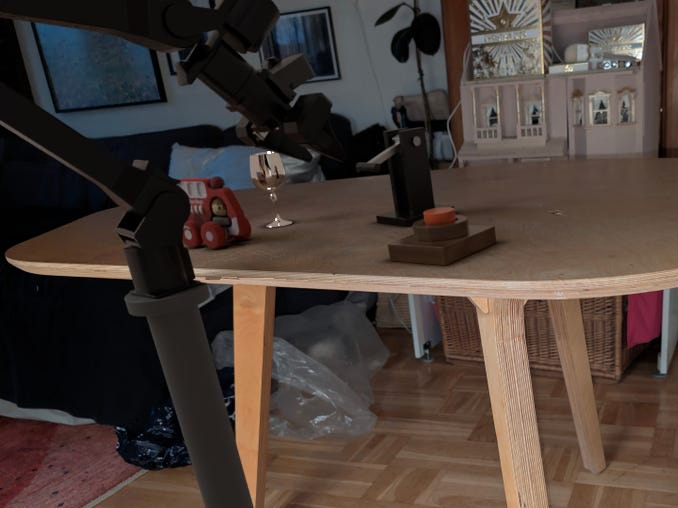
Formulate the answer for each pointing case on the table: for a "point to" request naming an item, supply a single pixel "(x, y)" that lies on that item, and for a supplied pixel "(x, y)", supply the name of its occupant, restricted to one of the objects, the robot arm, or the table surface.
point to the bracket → (409, 178)
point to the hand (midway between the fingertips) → (327, 159)
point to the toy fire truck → (212, 213)
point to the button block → (441, 242)
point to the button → (439, 216)
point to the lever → (380, 157)
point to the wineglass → (269, 178)
